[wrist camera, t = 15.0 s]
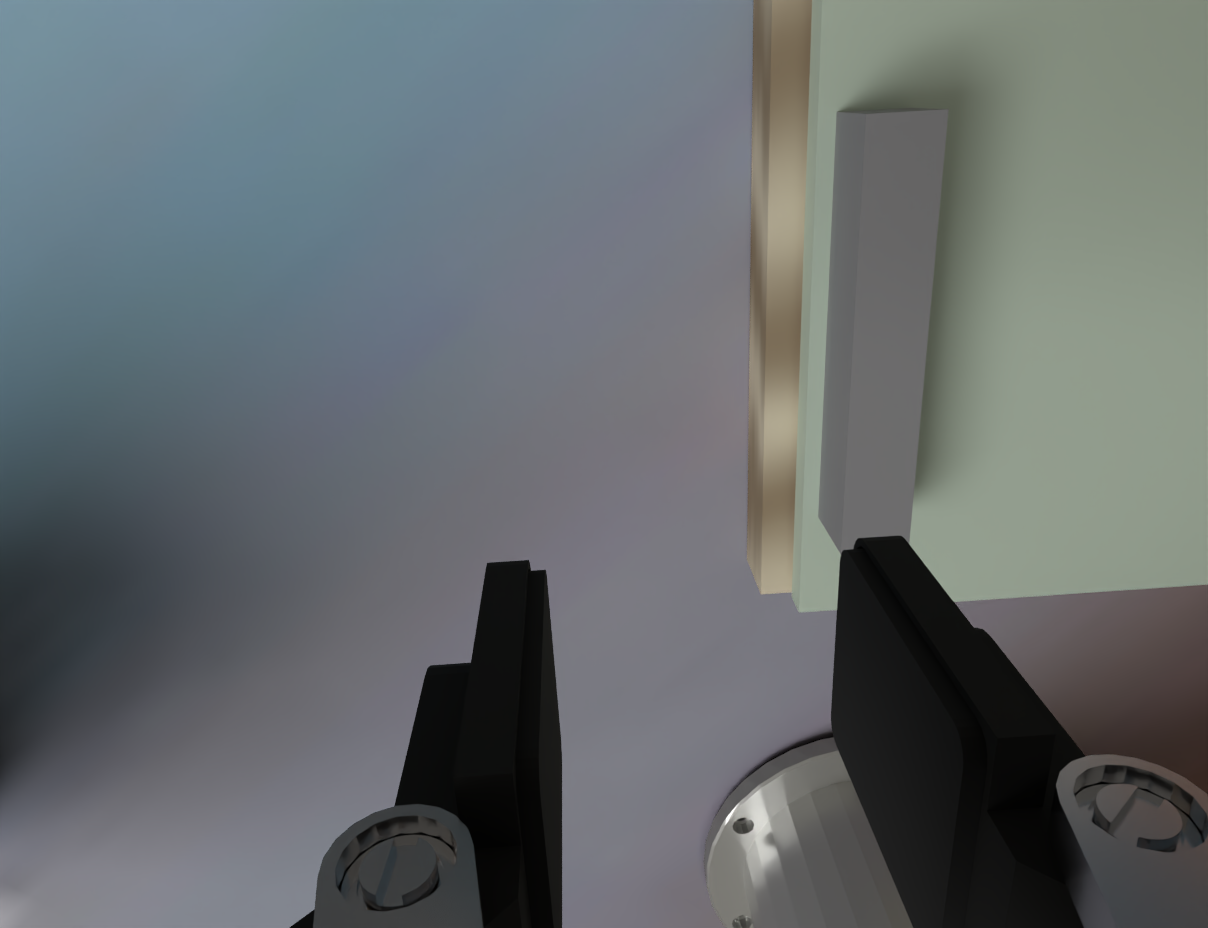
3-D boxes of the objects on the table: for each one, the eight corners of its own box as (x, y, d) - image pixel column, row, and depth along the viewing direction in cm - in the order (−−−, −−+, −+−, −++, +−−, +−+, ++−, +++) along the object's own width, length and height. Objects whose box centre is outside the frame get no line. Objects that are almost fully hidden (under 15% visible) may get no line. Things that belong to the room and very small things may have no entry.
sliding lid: (1334, 559, 31) (1424, 613, 28) (791, 596, 31) (818, 656, 27) (1522, -70, 24) (1675, -96, 20) (812, -32, 23) (854, -52, 20)
